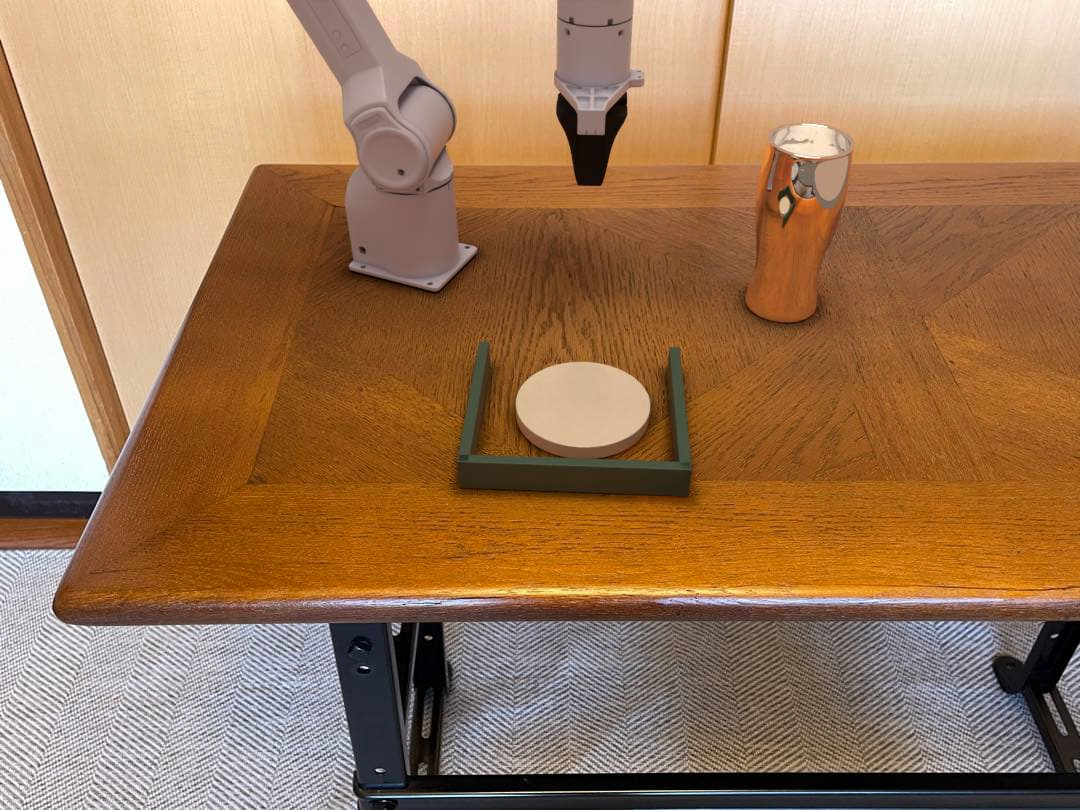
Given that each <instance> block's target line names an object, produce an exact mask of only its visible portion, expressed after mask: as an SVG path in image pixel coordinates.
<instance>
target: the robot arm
mask: <svg viewBox="0 0 1080 810" xmlns="http://www.w3.org/2000/svg"><path fill="white" fill-rule="evenodd" d="M285 1H286V3H287V4H288V6H289V7H290V9H291V10H292V12H293V14H294V15H295V17H296V18H297V20H298V22H299V23H300V25H301V26H302V27H303V29H304V31H305V32H306V34H307V35H308V37H309V39H310V40H311V42H312V44H313V45H314V46H315V48H316V50H317V51H318V52H319V54H320V56H321V58H322V59H323V61H324V62H325V63H326V65H327V67H328V69H329V70H330V71H331V73H332V75H333V77H335V80H336V81H337V82H338V84H339V86H340V88H341V101H342V102H341V103H342V118H343V124H344V126H345V128H346V129H347V130H348V132H349V133H350V135H351V138H352V140H353V142H354V145H355V152H356V159H357V162H358V164H359V165H358V166H357V167H356V169H355V170H354V171H353V172H352V174H351V175H350V177H349V179H348V182H347V185H346V189H345V195H344V207H345V214H346V221H347V222H346V223H347V229H348V234H349V241H350V247H351V254H352V259H353V260H352V261H351V262H350V263H349V264H348V269H349V270H350V271H352V272H356V273H359V274H364V275H366V276H367V275H368V276H371V277H376V278H380V279H383V280H388V281H392V282H394V283H398V284H399V283H400V284H403V285H408V286H411V287H415V288H419V289H422V290H426V291H430V292H439V291H440V290H441V289H443V288H444V286H445V285H446V284H448V282H449V281H450V280H452V278H453V277H455V275H456V274H457V273H458V272H459V271H460V270H462V268H463V267H464V266H465V265H466V264H467V263H469V261H471V260H472V259H473V258H474V256H475V255H476V254H477V253H478V247H477V246H475V245H470V244H466V243H462V242H460V241H459V229H458V227H459V226H458V216H457V215H458V213H457V200H456V188H455V187H456V185H455V184H456V183H455V172H454V171H455V170H454V165H453V161H452V159H451V157H450V155H449V153H448V151H447V143H449V142H450V141H451V139H452V138H453V136H454V134H455V132H456V129H457V123H458V116H457V115H458V114H457V111H456V110H457V109H456V107H455V105H454V103H453V101H452V99H451V97H450V96H449V95H448V94H447V93H446V92H445V90H443V89H442V88H441V87H440V86H438V85H437V84H436V83H434V82H432V80H430V79H429V78H428V77H427V75H426V74H425V73H424V71H423V70H422V68H421V66H420V63H418V62H417V61H416V60H415V59H413V58H411V57H410V56H408V55H405V54H404V53H402V52H401V51H399V50H397V48H396V47H395V45H394V44H393V42H392V41H391V39H390V37H389V36H388V34H387V32H386V30H385V29H384V27H383V25H382V24H381V21H380V20H379V19H378V17H377V15H376V14H375V12H374V10H373V8H372V6H371V5H370V3H369V1H368V0H285ZM634 4H635V0H556V69H555V70H554V72H553V84H554V86H555V88H556V89H557V90H558V92H559V93H558V94H557V98H556V105H555V114H556V117H557V120H558V122H559V124H560V126H561V128H562V129H563V132H564V134H565V136H566V139H567V143H568V146H569V151H570V156H571V162H572V169H573V174H574V179H575V181H576V185H577V186H578V187H602V186H603V183H604V180H605V177H606V174H607V170H608V164H609V161H610V156H611V152H612V148H613V146H614V143H615V141H616V138H617V136H618V134H619V131H620V129H621V128H622V127H623V125H624V124H625V122H626V119H627V117H628V113H629V112H628V110H629V109H628V91H629V89H631V88H642V87H644V85H645V80H646V79H645V71H644V70H642V69H631V59H632V57H631V56H632V42H633V41H632V40H633V39H632V38H633V20H634V7H635V6H634Z"/></svg>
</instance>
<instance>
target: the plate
mask: <svg viewBox="0 0 1080 810" xmlns="http://www.w3.org/2000/svg"><path fill="white" fill-rule="evenodd" d="M650 418H651V398H650V395H649V394H648V392H647V389H646V388H645V386H644V385H643V384H642V383H641V382H640V381H639V380H638V379H637V378H635V377H634V376H633V375H631V374H630V373H628V372H626V371H624V370H622V369H620V368H617V367H615V366H613V365H609V364H605V363H599V362H592V361H569V362H562V363H559V364H558V363H557V364H553V365H551V366H548V367H545V368H543V369H541V370H539V371H537V372H535V373H534V374H532V375H531V376H529V377H528V378H527V379H526V380H525V381H524V382H523V383H522V385H520V387H519V389H518V391H517V394H516V397H515V420H516V423H517V426H518V429H519V430H520V432H521V434H522V435H523V436H524V437H525V439H527V440H528V441H529V442H530V443H531V444H532V445H534V446H535V447H537V448H539V449H540V450H542V451H544V452H547V453H549V454H551V455H553V456H554V455H555V456H558V457H560V458H582V459H604V458H607V457H611V456H615V455H617V454H619V453H623V452H624V451H626V450H628V449H630V448H632V447H633V446H634V445H635V444H637V443H638V442H639V441H640V440H641V439H642V437H644V435H645V434H646V432H647V430H648V428H649V425H650Z"/></svg>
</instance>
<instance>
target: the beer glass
mask: <svg viewBox="0 0 1080 810" xmlns="http://www.w3.org/2000/svg"><path fill="white" fill-rule="evenodd" d="M766 139H767V140H766V144H765V148H764V153H763V156H762V160H761V165H760V170H759V174H758V180H757V185H756V192H755V203H754V204H755V206H754V207H755V208H754V209H755V210H754V219H755V220H754V223H755V224H754V225H755V249H756V251H755V264H754V268H753V272H752V275H751V279H750V281H749V284H748V286H747V289H746V292H745V296H744V301H745V304H746V307H747V308H748V309H749V310H750V311H751V312H752V313H753V314H755V315H756V316H758V317H760V318H762V319H764V320H767V321H771V322H775V323H785V324H786V323H798V322H801V321H804V320H807V319H808V318H810V317H812V316H813V314H814V313H815V312H816V309H817V305H818V280H819V274H820V269H821V266H822V263H823V261H824V258H825V256H826V254H827V251H828V249H829V246H830V244H831V242H832V240H833V238H834V235H835V232H836V231H837V228H838V226H839V222H840V219H841V217H842V214H843V212H844V207H845V205H846V200H847V195H848V191H849V185H850V180H851V172H852V167H853V166H852V165H853V157H854V150H855V148H856V147H855V146H856V142H855V140H854V138H853V137H852V136H851V135H850V134H849V133H847V132H846V131H844V130H841V129H839V128H836V127H834V126H830V125H827V124H821V123H814V122H813V123H812V122H792V123H786V124H782V125H778V126H777V127H774V128H772V129H771V130H770V131H769V132H768V134H767V138H766Z"/></svg>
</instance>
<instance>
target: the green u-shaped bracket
mask: <svg viewBox="0 0 1080 810" xmlns="http://www.w3.org/2000/svg"><path fill="white" fill-rule="evenodd" d="M490 350H491V349H490V341H479V342H478V347H477V352H476V357H475V363H474V369H473V373H472V378H471V384H470V389H469V395H468V400H467V406H466V411H465V416H464V422H463V427H462V432H461V438H460V442H459V443H460V444H459V449H458V454H457V458H456V459H457V460H456V467H457V476H458V477H457V478H458V487H459V489H479V490H506V491H507V490H508V491H509V490H510V491H532V492H533V491H534V492H535V491H538V492H562V493H563V492H565V493H586V494H587V493H591V494H616V495H617V494H618V495H619V494H620V495H642V496H643V495H644V496H646V495H648V496H674V497H689V495H690V489H691V488H690V487H691V481H692V472H693V465H692V457H691V456H692V455H691V447H690V436H689V427H688V416H687V406H686V396H685V386H684V378H683V377H684V376H683V366H682V357H681V348H680V347H679V346H669V348H668V357H667V366H666V378H667V392H668V405H669V417H670V428H671V429H670V430H671V442H672V455H673V461H668V460H667V461H666V460H665V461H664V460H637V459H635V460H634V459H607V458H597V459H582V458H566V457H553V456H551V457H550V456H521V455H494V454H493V455H492V454H491V455H489V454H477V452H478V446H479V439H480V433H481V428H482V421H483V416H484V408H485V402H486V397H487V391H488V384H489V378H490V371H491V351H490Z"/></svg>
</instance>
